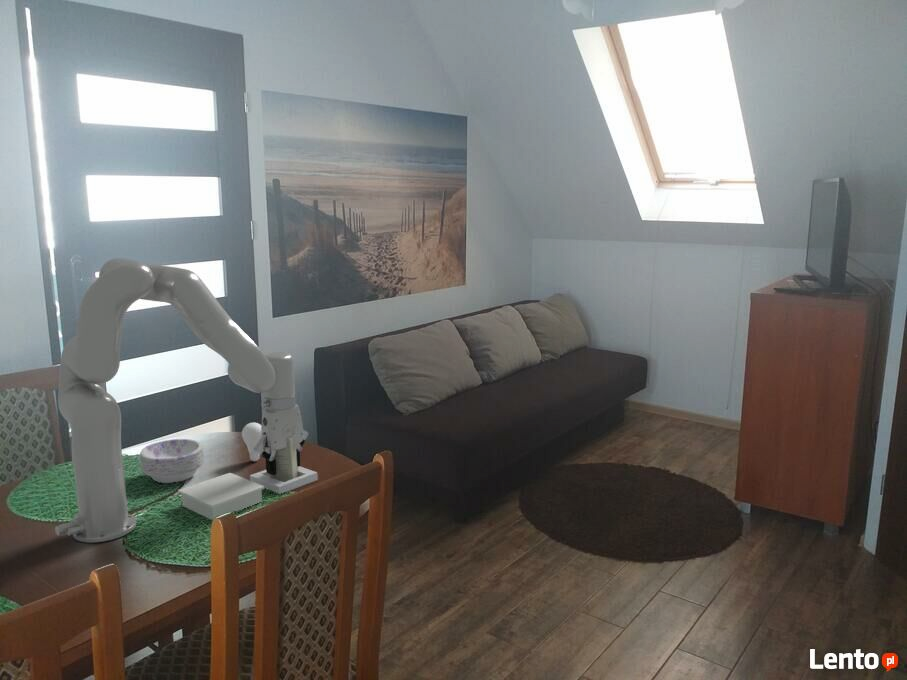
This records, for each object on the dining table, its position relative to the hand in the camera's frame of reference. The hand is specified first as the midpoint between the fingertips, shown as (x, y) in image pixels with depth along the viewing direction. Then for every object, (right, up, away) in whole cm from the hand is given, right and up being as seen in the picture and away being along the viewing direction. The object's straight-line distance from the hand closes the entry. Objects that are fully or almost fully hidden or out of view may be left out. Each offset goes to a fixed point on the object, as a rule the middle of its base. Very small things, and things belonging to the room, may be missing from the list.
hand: (283, 469), depth 184 cm
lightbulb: (-11, -1, +15) cm, 19 cm away
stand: (-11, -6, -13) cm, 18 cm away
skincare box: (0, -3, +1) cm, 4 cm away
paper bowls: (-30, -3, +4) cm, 30 cm away
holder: (0, -3, +1) cm, 3 cm away
